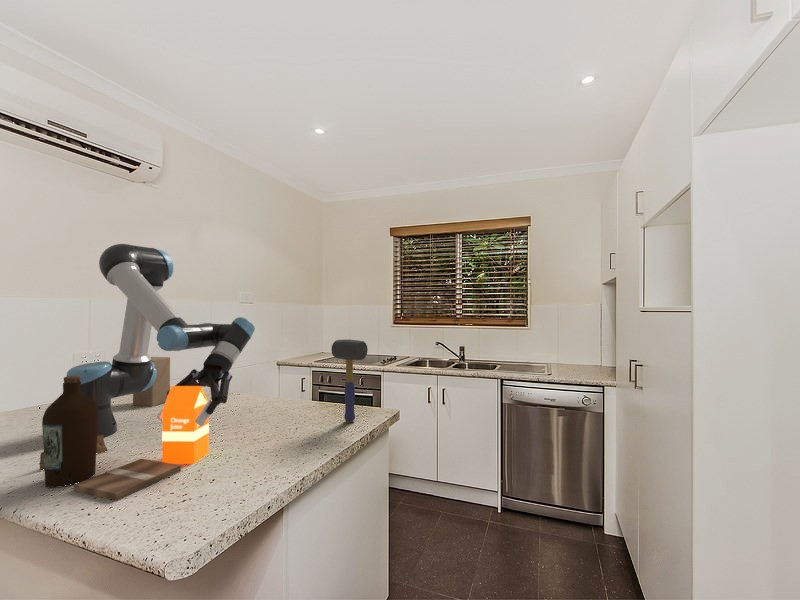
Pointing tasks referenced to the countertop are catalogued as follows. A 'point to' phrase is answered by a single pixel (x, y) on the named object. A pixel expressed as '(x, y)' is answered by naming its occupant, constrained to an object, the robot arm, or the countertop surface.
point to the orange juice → (184, 426)
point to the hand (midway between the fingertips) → (179, 421)
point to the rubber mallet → (349, 369)
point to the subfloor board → (127, 479)
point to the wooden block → (156, 385)
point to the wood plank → (100, 448)
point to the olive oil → (70, 436)
